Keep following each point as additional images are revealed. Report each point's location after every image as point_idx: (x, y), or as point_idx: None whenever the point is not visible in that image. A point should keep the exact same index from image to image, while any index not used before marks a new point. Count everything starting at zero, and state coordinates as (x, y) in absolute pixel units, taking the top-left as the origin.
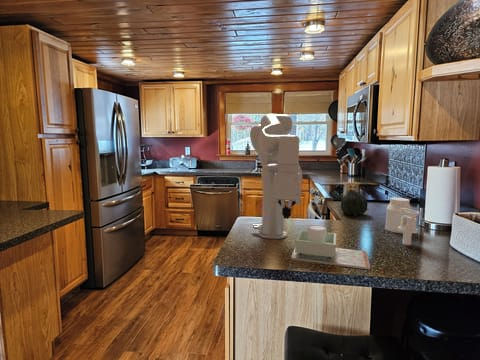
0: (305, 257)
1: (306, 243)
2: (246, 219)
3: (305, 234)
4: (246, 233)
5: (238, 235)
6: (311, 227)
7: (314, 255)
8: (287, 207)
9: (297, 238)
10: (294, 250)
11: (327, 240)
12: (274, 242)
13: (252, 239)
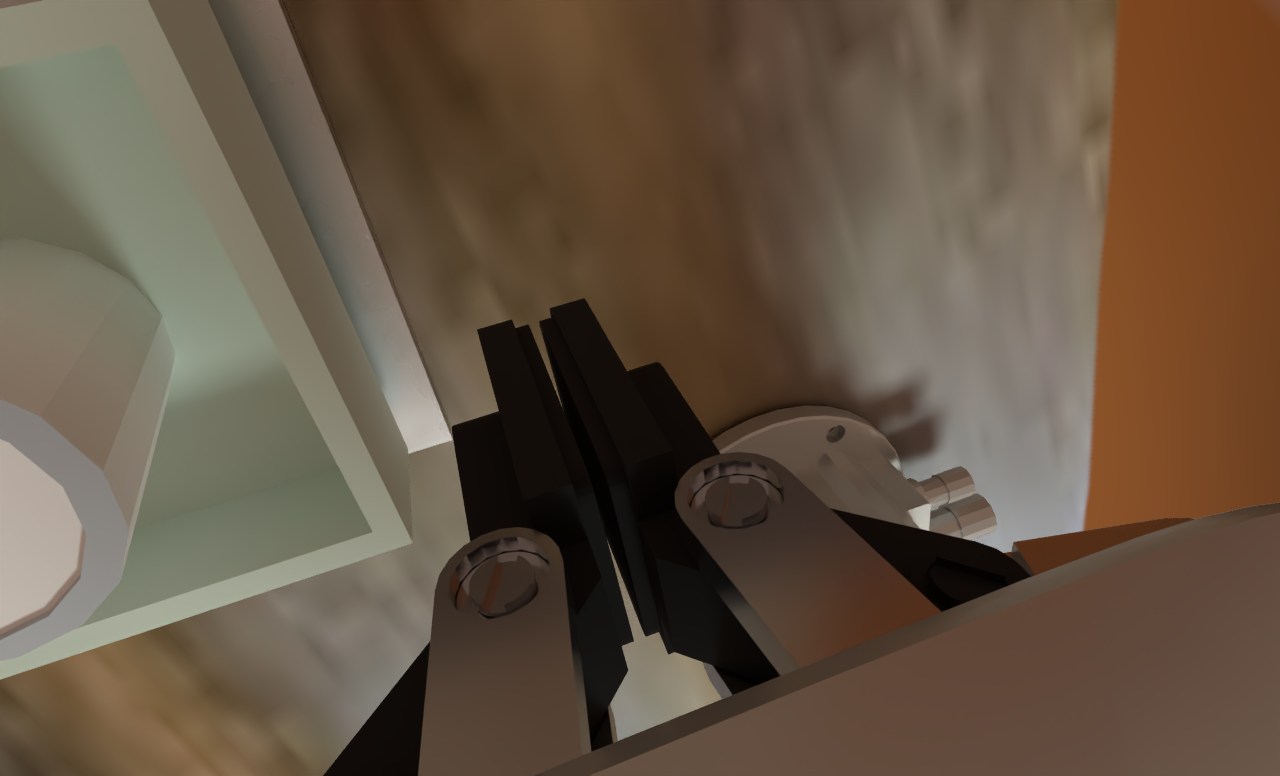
0: None
1: None
2: None
3: (324, 516)
4: (988, 413)
5: (1045, 325)
6: (2, 484)
7: None
8: (584, 553)
9: (187, 126)
10: (352, 208)
11: None
12: (688, 362)
13: (906, 307)
